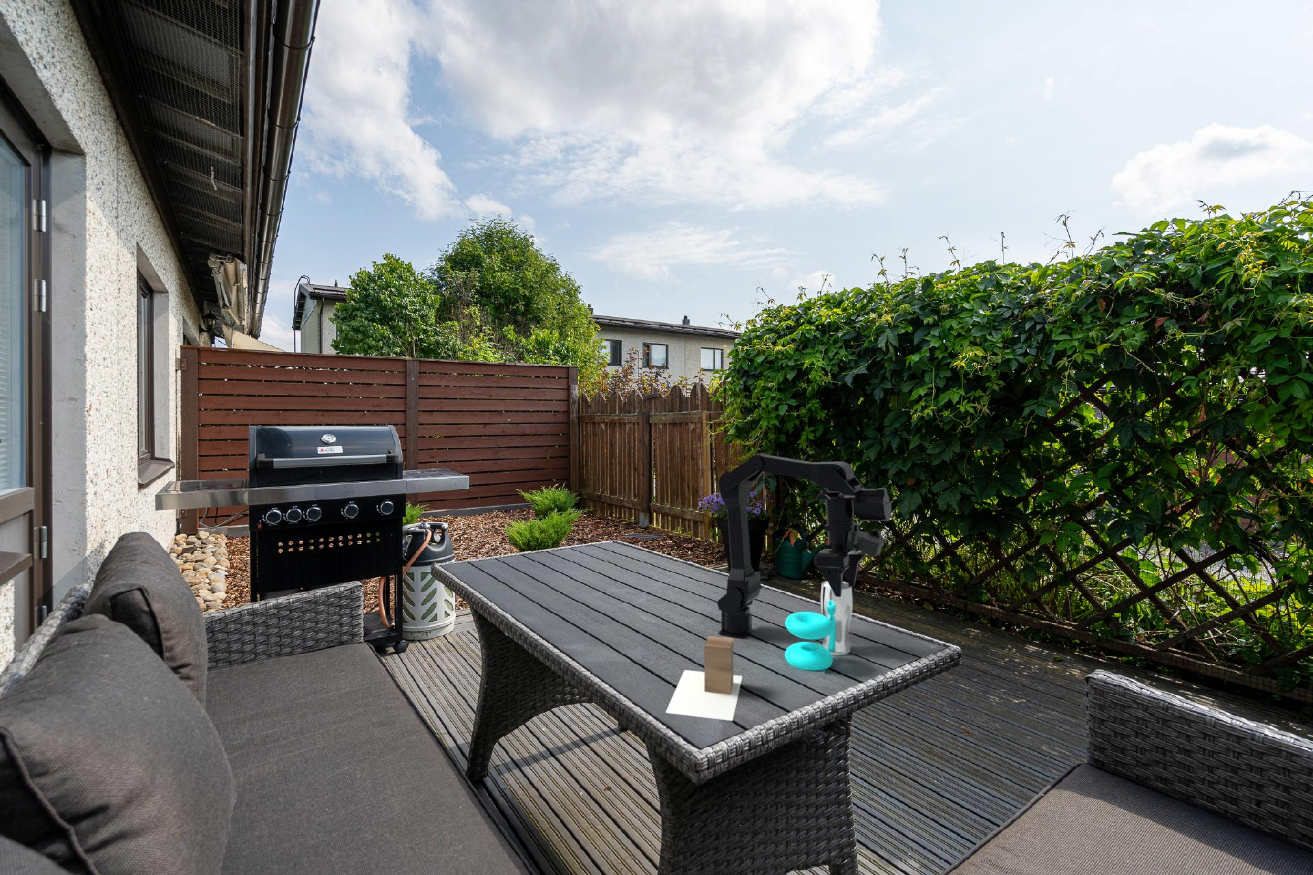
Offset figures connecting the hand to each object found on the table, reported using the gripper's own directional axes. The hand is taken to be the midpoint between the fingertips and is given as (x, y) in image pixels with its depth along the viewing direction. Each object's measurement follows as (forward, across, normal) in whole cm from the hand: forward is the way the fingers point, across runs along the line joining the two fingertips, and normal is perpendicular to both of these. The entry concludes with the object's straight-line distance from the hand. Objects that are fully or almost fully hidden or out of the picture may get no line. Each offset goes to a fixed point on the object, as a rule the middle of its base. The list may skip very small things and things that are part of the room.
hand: (845, 591), depth 132 cm
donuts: (+15, -7, +7) cm, 18 cm away
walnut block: (+13, -29, +16) cm, 36 cm away
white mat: (+14, -32, +17) cm, 39 cm away
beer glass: (+15, +4, +4) cm, 16 cm away
